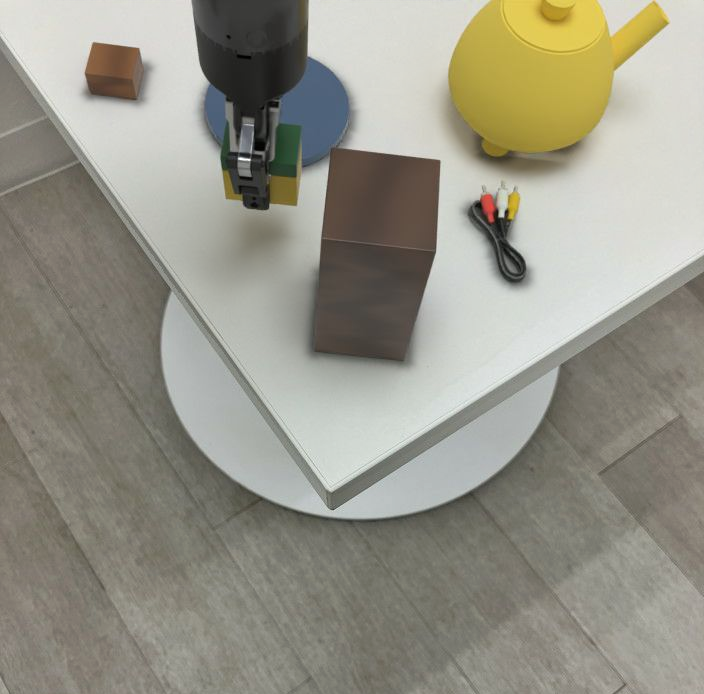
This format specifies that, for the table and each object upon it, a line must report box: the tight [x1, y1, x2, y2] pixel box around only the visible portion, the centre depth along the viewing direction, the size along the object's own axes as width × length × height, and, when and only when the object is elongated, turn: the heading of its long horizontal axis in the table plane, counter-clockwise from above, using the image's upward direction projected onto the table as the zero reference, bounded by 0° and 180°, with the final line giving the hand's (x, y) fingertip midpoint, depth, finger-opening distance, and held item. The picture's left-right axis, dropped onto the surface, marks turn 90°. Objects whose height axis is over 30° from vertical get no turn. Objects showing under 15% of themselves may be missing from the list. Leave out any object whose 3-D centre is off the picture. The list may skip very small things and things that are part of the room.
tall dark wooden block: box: [313, 147, 442, 361], centre depth 64 cm, size 8×8×16 cm
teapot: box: [447, 0, 670, 157], centre depth 74 cm, size 20×16×14 cm
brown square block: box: [84, 41, 145, 100], centre depth 77 cm, size 4×4×2 cm
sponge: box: [219, 120, 303, 207], centre depth 65 cm, size 6×4×5 cm, turn 86°
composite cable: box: [468, 180, 527, 283], centre depth 74 cm, size 10×5×2 cm, turn 4°
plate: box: [204, 56, 350, 167], centre depth 78 cm, size 14×14×1 cm
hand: (260, 183), depth 67 cm, fingers closed on sponge, 4 cm apart
